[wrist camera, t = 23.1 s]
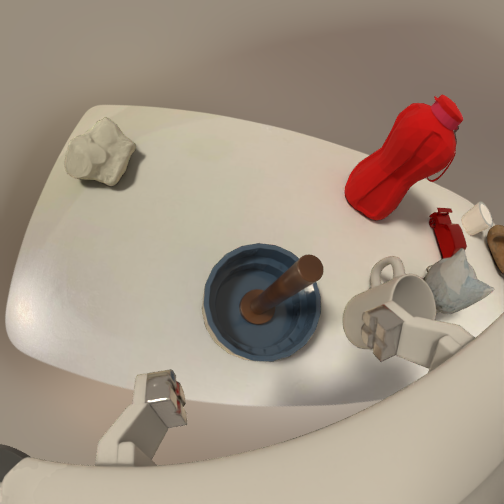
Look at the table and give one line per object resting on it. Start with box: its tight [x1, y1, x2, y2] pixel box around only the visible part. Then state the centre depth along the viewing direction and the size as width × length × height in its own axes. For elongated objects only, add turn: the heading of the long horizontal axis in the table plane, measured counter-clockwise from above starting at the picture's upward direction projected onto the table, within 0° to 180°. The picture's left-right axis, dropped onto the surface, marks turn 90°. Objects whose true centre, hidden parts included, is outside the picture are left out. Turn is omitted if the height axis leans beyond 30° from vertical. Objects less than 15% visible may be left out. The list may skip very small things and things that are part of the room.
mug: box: [343, 256, 436, 349], centre depth 33 cm, size 12×8×11 cm
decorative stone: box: [65, 117, 136, 186], centre depth 35 cm, size 11×9×10 cm
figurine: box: [423, 248, 494, 314], centre depth 35 cm, size 10×9×15 cm
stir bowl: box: [202, 243, 321, 362], centre depth 32 cm, size 13×13×6 cm
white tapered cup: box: [462, 202, 493, 236], centre depth 49 cm, size 7×7×7 cm
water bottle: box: [345, 95, 463, 220], centre depth 34 cm, size 9×11×25 cm
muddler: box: [239, 255, 323, 325], centre depth 26 cm, size 4×4×17 cm
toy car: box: [429, 208, 467, 259], centre depth 45 cm, size 14×6×5 cm, turn 9°
